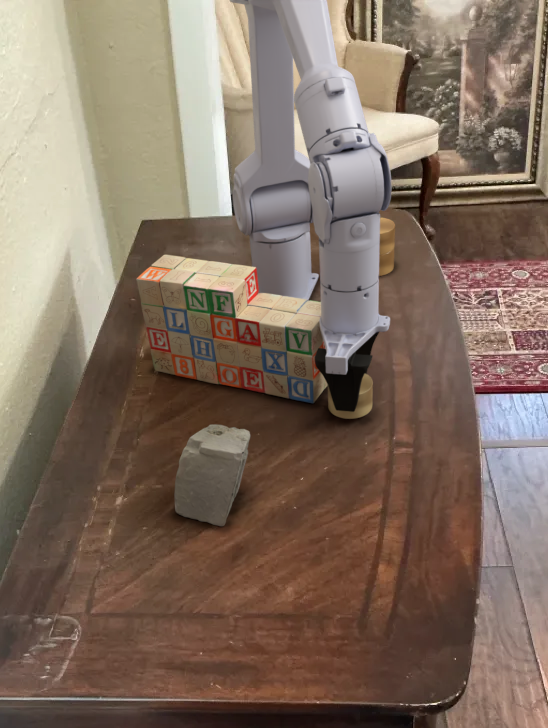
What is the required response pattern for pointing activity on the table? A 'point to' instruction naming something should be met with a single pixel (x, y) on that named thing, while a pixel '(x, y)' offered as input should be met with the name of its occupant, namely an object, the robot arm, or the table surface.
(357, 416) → the tan wooden cylinder
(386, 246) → the pile chip top
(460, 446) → the table surface
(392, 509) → the table surface
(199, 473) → the mineral specimen
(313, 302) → the stack of blocks
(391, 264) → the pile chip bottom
